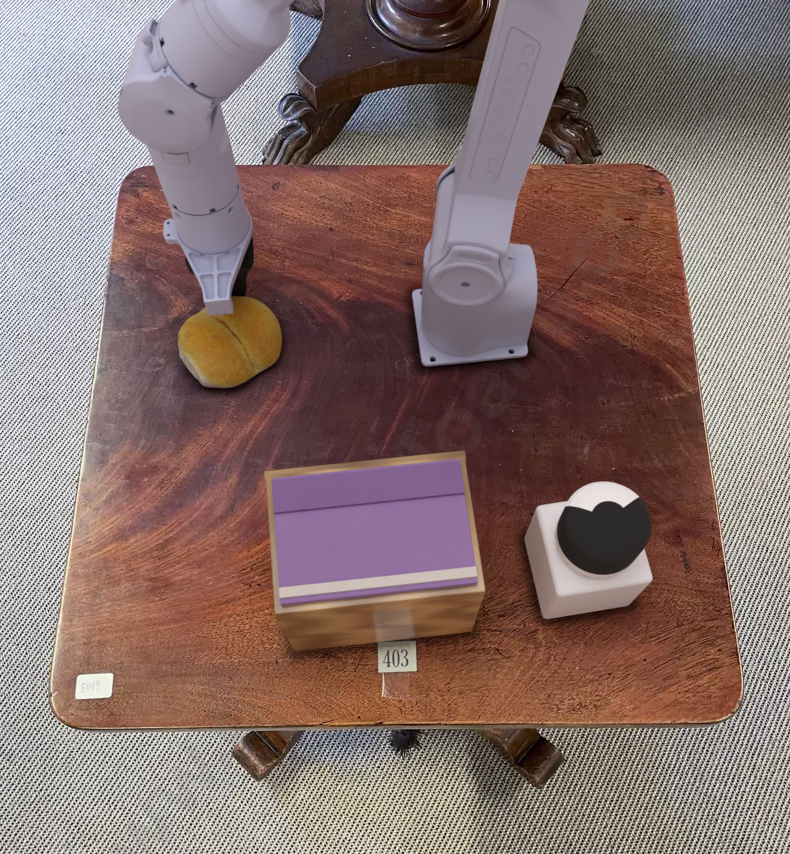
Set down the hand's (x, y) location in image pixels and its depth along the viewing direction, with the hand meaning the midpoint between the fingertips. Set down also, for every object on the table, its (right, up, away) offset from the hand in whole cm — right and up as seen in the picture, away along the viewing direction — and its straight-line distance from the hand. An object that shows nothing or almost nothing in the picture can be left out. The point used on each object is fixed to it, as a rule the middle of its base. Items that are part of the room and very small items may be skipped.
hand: (233, 293), depth 77 cm
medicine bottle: (+29, -25, -8) cm, 39 cm away
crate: (+13, -25, -8) cm, 30 cm away
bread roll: (0, -5, 0) cm, 5 cm away
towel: (+13, -21, -19) cm, 31 cm away
